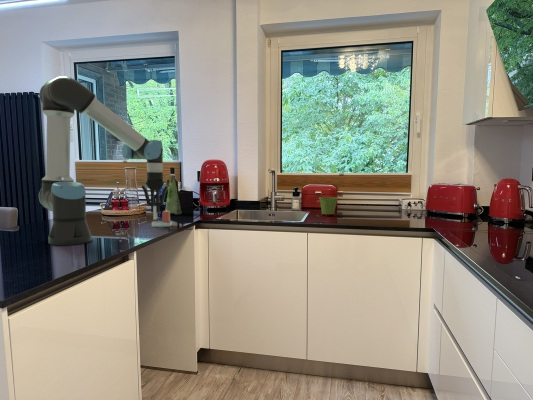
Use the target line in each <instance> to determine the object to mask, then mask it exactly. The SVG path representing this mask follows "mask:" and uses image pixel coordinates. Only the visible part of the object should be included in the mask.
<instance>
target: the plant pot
mask: <svg viewBox="0 0 533 400" xmlns="http://www.w3.org/2000/svg"><path fill="white" fill-rule="evenodd" d="M318 199H319V203H320V208H321V215H322V214H334V215H335V211H336V206H337V201H338V199H339V198H338V197H334V196H333V197H332V196H321V197H318Z"/></svg>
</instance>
